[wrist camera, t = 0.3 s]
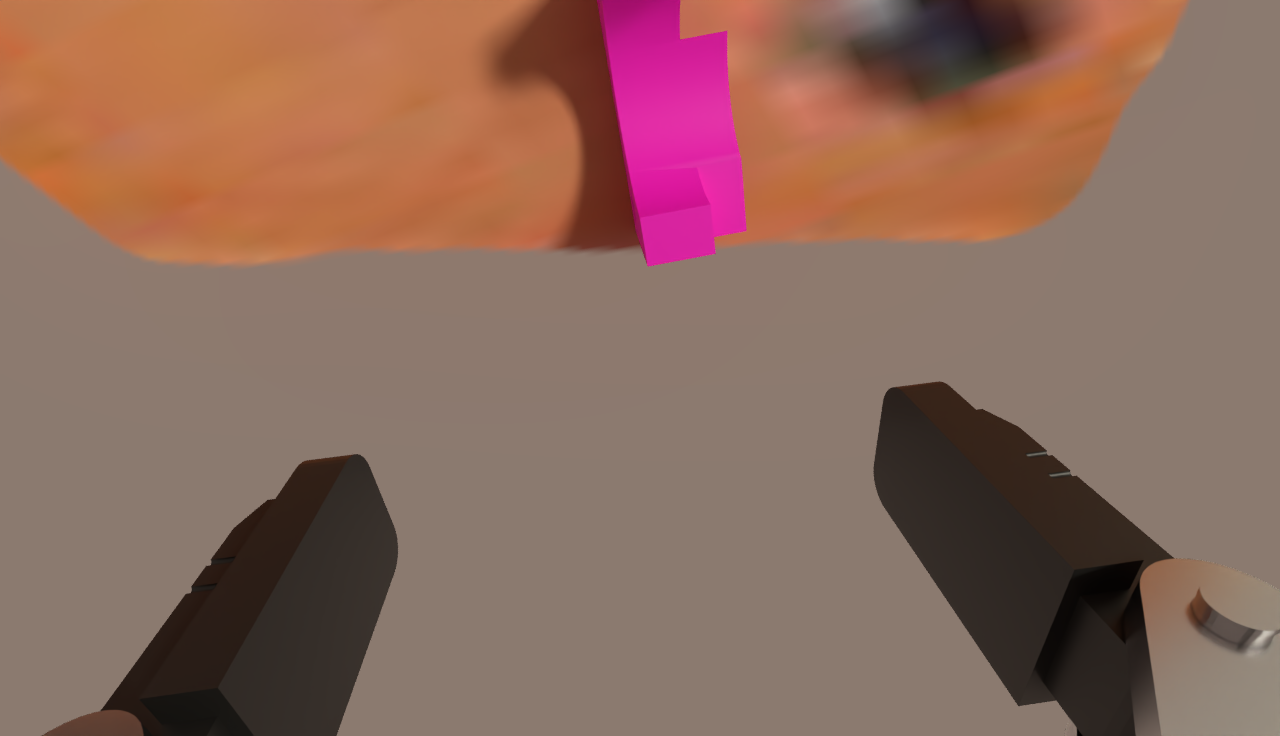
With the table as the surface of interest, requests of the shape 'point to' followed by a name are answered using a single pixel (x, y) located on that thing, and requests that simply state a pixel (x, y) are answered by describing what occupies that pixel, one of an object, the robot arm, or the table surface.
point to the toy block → (673, 129)
